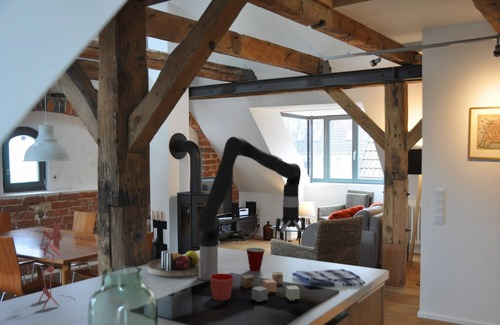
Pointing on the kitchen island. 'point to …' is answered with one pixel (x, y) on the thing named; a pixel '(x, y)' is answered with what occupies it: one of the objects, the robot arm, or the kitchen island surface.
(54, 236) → the figurine
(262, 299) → the slate cube
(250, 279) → the walnut cube
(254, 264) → the plastic cup
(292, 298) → the sage cube
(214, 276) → the flower pot
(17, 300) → the kitchen island surface
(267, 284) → the terracotta cube
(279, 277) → the oak cube
